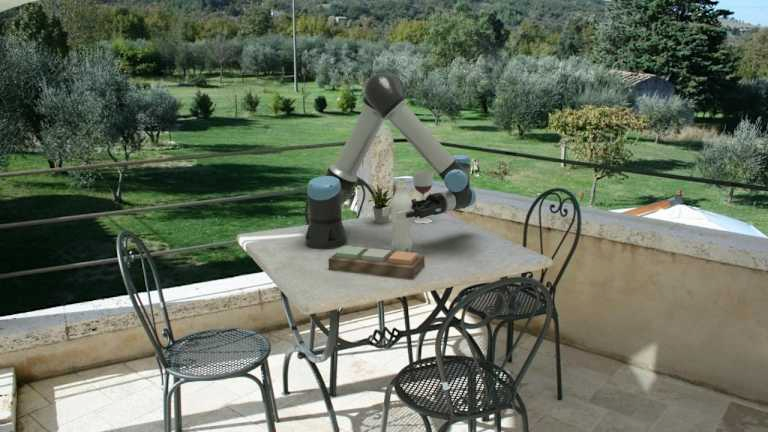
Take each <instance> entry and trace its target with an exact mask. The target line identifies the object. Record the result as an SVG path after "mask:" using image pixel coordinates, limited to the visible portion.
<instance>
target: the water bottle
mask: <svg viewBox="0 0 768 432" xmlns="http://www.w3.org/2000/svg"><path fill="white" fill-rule="evenodd" d="M396 187H397V188H396ZM407 187H408V186H407V179H406V178H398V179H396V185H395V188H396V190H395V193H394V194H393V196H392V197H391V198H392V199H391V200H390V201H391V202H390V206H391V215H390V216H391V218H390V221H391V224H392V226H393V227H392V228H393V237H392V240H391V249H392V251H393V253H395V252H396V251H401V252H411V250H412V247H413V241H412V238H411V233H410V229H411V225H412V222H413V218H408V219H404V220H400V221H397V212H401V211H405V210H410V209H412V201H411V200H412V199H411V196H410V195H409V192H408V191H407Z"/></svg>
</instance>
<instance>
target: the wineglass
mask: <svg viewBox="0 0 768 432" xmlns="http://www.w3.org/2000/svg"><path fill="white" fill-rule="evenodd" d="M412 179H413V185H414V189H415V190H416V191H417V192H418V193H419V194H421V200H425V194H426V193H428V192H430V191H431V189H432V187H433V183H434V171H432V170H423V169H422V170H421V169H420V170H415V171H413V172H412ZM416 219H417V220H416ZM416 219H414V220H415V221H414V220H413V222H414V223H416V224H421V223H425V224H431V223H432V222H433V220H432V219H431V220H430V218H425V217H424V218H416ZM430 222H431V223H430Z"/></svg>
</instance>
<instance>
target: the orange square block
mask: <svg viewBox="0 0 768 432" xmlns="http://www.w3.org/2000/svg"><path fill="white" fill-rule="evenodd" d="M393 253H394V254H392V255H391V256H390V257H389V263H393V264H403V265H412V264H413V263H414V262H415V261H416V260H417V259H418V255H419V253H417V252H411V251H410V252H406V251H405V252H401V251H396V252H393Z"/></svg>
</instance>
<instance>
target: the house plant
mask: <svg viewBox="0 0 768 432" xmlns="http://www.w3.org/2000/svg"><path fill="white" fill-rule="evenodd" d="M368 185H369V186H371V188H372V189H371V188H368V187H367V189H368V190H369V191H370V192H371V195H372V196H371V199H369V198H368V197H366V199H369V200H368V201H367V204H368V203H370V202H372V203H373V204H375V202H376V204H375V205H374V206H372V211H373V215H374V220H375V223H376V224H388V223H389V219H390V215H387V216H382V208H385V207H390V206H391V205H389V203H390V204H391V201H392V198H393V197H389V195H390V194H391V193H392V192H393V191H394V190H395V189H397V187H396V186H395V188H393V189H392V190H390V189H391V186H389V187H388V189H387V190H386V191H384V192H383V187H380V186H379V184H378V183H376V188H377V189H376V188H375V187H374V186H373V184H370V183H368ZM376 190H377V191H376ZM389 191H390V192H389ZM387 222H388V223H387Z"/></svg>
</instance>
